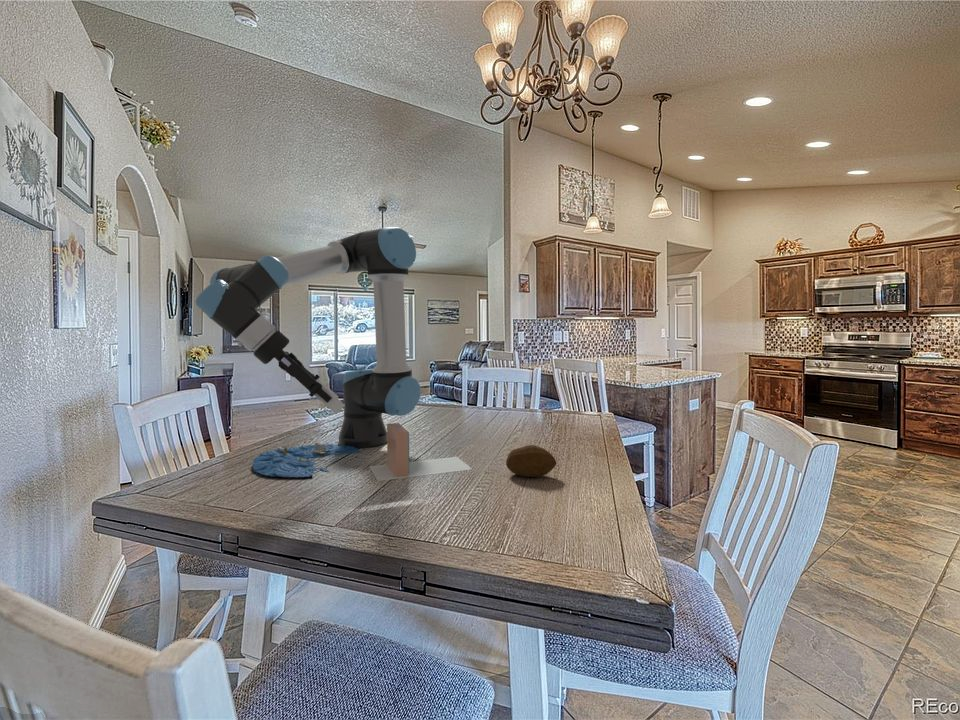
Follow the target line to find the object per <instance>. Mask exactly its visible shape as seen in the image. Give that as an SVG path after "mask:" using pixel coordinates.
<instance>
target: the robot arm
mask: <svg viewBox="0 0 960 720" xmlns="http://www.w3.org/2000/svg"><path fill="white" fill-rule="evenodd" d="M416 259H417V248H416V244H415V242H414V240H413V237H412V236H410V235H409V232H407V231H406V230H404V228H401V227H397V226H393V227H392V226H391V227H388V226H385V227H382V228H378V229H372V230H367V231H366V230H365V231H359V232H357V233H354V234H352V235H349V236H346V237H343V238H340V239H337V240H333V241H330V242H328V244H327V245H326V246H322V247H318V248H313V249H309V250H306V251H300V252H296V253H291V254H288V255H286V254H285V255H283V256H278V257H274V256H272V255H263V256H262V257H261V258H259V259H256V261H255V262H251V263H248V264H243V265H238V266H233V267H225V268H221V269H219V270H217V271H215V272H214V273H213V274H212V275H211V277H210V280H209V285H208V286H206V287H205V288H203V290H202V291H201V292H200V293H199V294H198V295H197V297H196V299H195V305H196V306H197V307H198V308H199V309H200V310H201V311H202V312H203V313H204V314H205V315H206V316H207V317H208V318H209V320H212V321H213V322H215V324H216V325H218V326H219V327H220V328H222V329H223V330H224V331H225V332H226V333H228V334H229V335H230V336H231V337H232V338H233V339H235V340H236V341H237V342H238V343H237V346H238V347H240V348H242V347H244V348H245V349H247V351H249V352H252V351H253V356H254V357H255V358H256V359H258V360H259V361H260V362H261V363H262V364H264V365H267V364H269V363H270V362H271V361H272V360H274V359H275V360H276V361H278V367H279V368H280V369H281V370H282V371H284V372H286V373H287V374H288V375H289V376H290V377H292V378H294V379H296V380H297V381H298V382H299V383H300V384H301V385H302V386H303V387H304V388H306V390H308V391H309V394H308V395H309V396H310V397H311V398H313V397H314V396H315V398H317V399H318V400H319V401H320V402H322V403H323V404H324V405H325V406H326V407H327V408H328V409H329V410H331V411H332V412H333V413H334V414H335V415H337V414H338V413H339V412H340V411H341V410H342V409H343V421H342V425H341V428H340V429H339V434H338V445H343V446H344V445H345V446H352V447H353V446H354V448H356V449H359V448H372V447H378V446H381V445H384V444H387V427H386V426H385V423H384V420H383V414H384V415H385V414H386V415H389V416H406V415H409V414H410V413H412V412H413V411H414V410H415V408H416V407H417V405H418V404H419V402H420V398H421V393H422V392H421V391H422V388H421V385H420V383H419V382H418V380H417V379H416V378H415V377H413V371H412V367H411V366H410V365H408V363H407V344H406V340H407V339H406V318H405V317H406V315H405V314H406V313H405V292H404V291H405V289H404V286H405V285H404V282H405V280H406V279H407V278H408V277H409V268H411V267H412V266H413V265H414V262H415V261H416ZM358 272H367V277H368V278H369V279H370V280H371V282H372V283H373V285H372V286H373V303H374V305H373V306H374V308H373V309H374V325H375V327H374V328H375V332H374V333H375V352H376V355H375V356H376V365H375V366H374V367H373V368H371V369H361V370H358V369H357V370H350V371H346V372H345V373H344V374H343V382H342V386H343V388H342V391H343V395H342V396H343V402H342V401H341V400H340V399H339V396H338V395H337V394H336V393H335V392H334V391H333V390H332V389H331V388H329V387H328V386H327V385H326V384H325V383H324V382H323V381H321V380H320V377H321V376H320V375H318V374H314V373H312V372H311V371H309V370H308V369H307V368H306V367H305V366H304V365H303V362H301V361H300V360H299V358H298V357H297V356H296V355H295V354H294V353H292V352H290V353H289V351H287V350H286V351H285V350H284V349H285V348H286V347H287V346H288V344H289V343H290V339H289V338H288V337H287V336H285V335H284V333H282V332H281V331H280V330H275V329H276V326H274V324H272V322H271V321H269V320H268V319H267V318H266V317H265V316H264V315H262V314H261V313H260V312H259V311H257V309H258V308H259V307H261V306H262V305H263V304H264V303H266V302H267V301H268V300H269V299H270V298H271V297H273V296H274V295H275V294H276V293H277V292H278V291H279V290H281V289H282V288H283V287H287V286H290V285H294V284H298V283H301V282H305V281H308V280H313V279H316V278H320V277H323V276H327V275H331V274H334V273H336V274H338V275H344V274H346V273H347V274H348V273H358Z"/></svg>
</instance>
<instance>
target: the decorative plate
mask: <svg viewBox="0 0 960 720" xmlns="http://www.w3.org/2000/svg"><path fill="white" fill-rule="evenodd" d="M358 449H359V448H354V446H353V447H352V446H345V445H344V446H343V445H340V444H338V445H337V444H333V443H332V444H330V443H326V444H325V443H324V444H319V443H318V442H315V444H313V445H312V444H308V445H301V446H294V447H289V448H288V447H282V446H277V449H275V450H274V449H273V450H267V451H266V452H261V454H259V455H258V456H256V457H255V458H254V459H253V460H252V461H253V462H252V468H253V471H254V472H255V473H259V474H260V475H264V476H267V477H277V478H286V479H287V478H297V479H298V478H310V477H312V476H313V474H315V475H316V474H317V473H316V472H314V471H320V472H323V473H330V470H328V469H327V467H325V469H324V467H323V466H322V467H320V468H319V467H316V466H319V465H320V464H321V463H320V462H327V459H326V460H325V459H321V458H322V457H328V456H331V457H332V456H340V455H341V456H342V455H352V454H360V453H363V452H360V451H359V450H358ZM357 458H359V456H356V459H357ZM315 459H318V461H319V462H314V461H317V460H315Z"/></svg>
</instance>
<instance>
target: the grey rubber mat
mask: <svg viewBox="0 0 960 720" xmlns="http://www.w3.org/2000/svg"><path fill="white" fill-rule="evenodd" d="M369 468H370V471H371V472H372V474H373V475H374V477H375V478H376V480H377V482H382V481H389V480H399V479H406V478H414V477H421V476H430V475H437V474H446V473H454V472H462V471H469V470H473V468H472V467H470V466H469V465H468V464H467V463H465V461H463V460H462V459H460V458H459V457H458V456H452V457H442V458H432V459H426V460H425V459H423V460H416V461H409V474H408V476H402V477H395V475H394V474H393V472H392V471H391V470H390V468H389V467H388V466H387V464H378V465H370V466H369Z"/></svg>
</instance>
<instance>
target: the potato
mask: <svg viewBox="0 0 960 720" xmlns="http://www.w3.org/2000/svg"><path fill="white" fill-rule="evenodd" d="M505 465H506V467H507V469H508V470H509V471H510V472H511V473H513V475H516V476H519V477H526V478H540V477H543V476H545V475H548V474H549V473H550V472H551V471H552V470H553V469H555V467H556V465H557V461H556V457H555V456H553V454H552V453H550V451H548V450H547V449H545V448H543V447H540V446H539V445H538V446H537V445H533V444H529V445H525V446H522V447H518V448H514V449H513V450H510V451H509V453H508V454H507V458H506V460H505Z"/></svg>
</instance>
